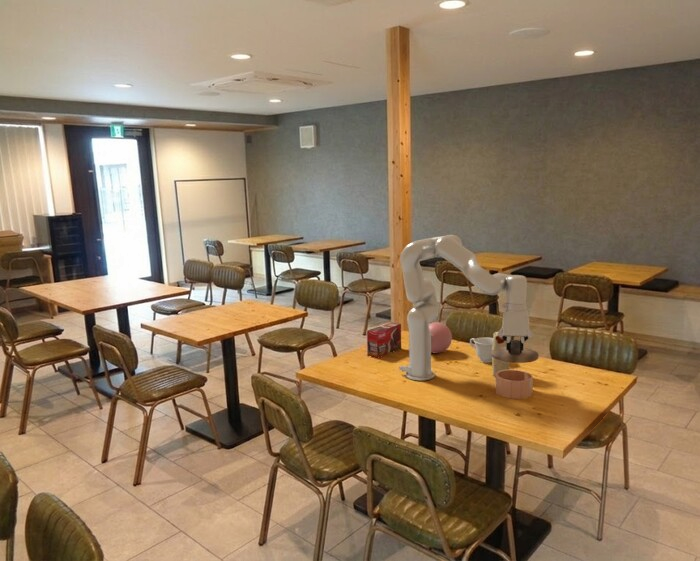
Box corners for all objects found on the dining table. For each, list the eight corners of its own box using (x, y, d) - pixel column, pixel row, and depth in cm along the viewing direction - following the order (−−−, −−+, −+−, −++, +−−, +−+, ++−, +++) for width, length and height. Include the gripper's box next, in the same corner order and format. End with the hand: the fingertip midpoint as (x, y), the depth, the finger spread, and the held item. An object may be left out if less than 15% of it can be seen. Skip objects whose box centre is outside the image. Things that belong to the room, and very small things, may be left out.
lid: (493, 362, 209) (493, 347, 208) (489, 348, 226) (489, 334, 225) (542, 363, 206) (542, 348, 205) (534, 349, 223) (535, 335, 222)
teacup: (476, 354, 269) (476, 334, 267) (504, 360, 258) (504, 340, 257) (463, 360, 260) (463, 340, 258) (491, 366, 250) (491, 345, 248)
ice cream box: (391, 346, 285) (391, 322, 283) (401, 348, 281) (401, 323, 279) (367, 356, 270) (366, 330, 268) (377, 358, 266) (376, 332, 264)
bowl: (497, 397, 213) (497, 380, 212) (494, 385, 227) (494, 369, 226) (534, 399, 211) (535, 382, 210) (529, 386, 224) (529, 370, 223)
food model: (499, 379, 233) (500, 334, 230) (487, 375, 239) (488, 331, 235) (514, 374, 239) (515, 330, 235) (502, 370, 244) (503, 327, 241)
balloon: (407, 354, 272) (407, 324, 269) (435, 346, 284) (435, 317, 281) (430, 361, 260) (430, 329, 257) (458, 352, 272) (458, 322, 270)
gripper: (494, 308, 211) (494, 354, 214) (539, 309, 208) (538, 355, 211) (493, 304, 218) (492, 348, 221) (536, 305, 215) (534, 349, 218)
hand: (514, 351), depth 216 cm, fingers closed on lid, 3 cm apart
